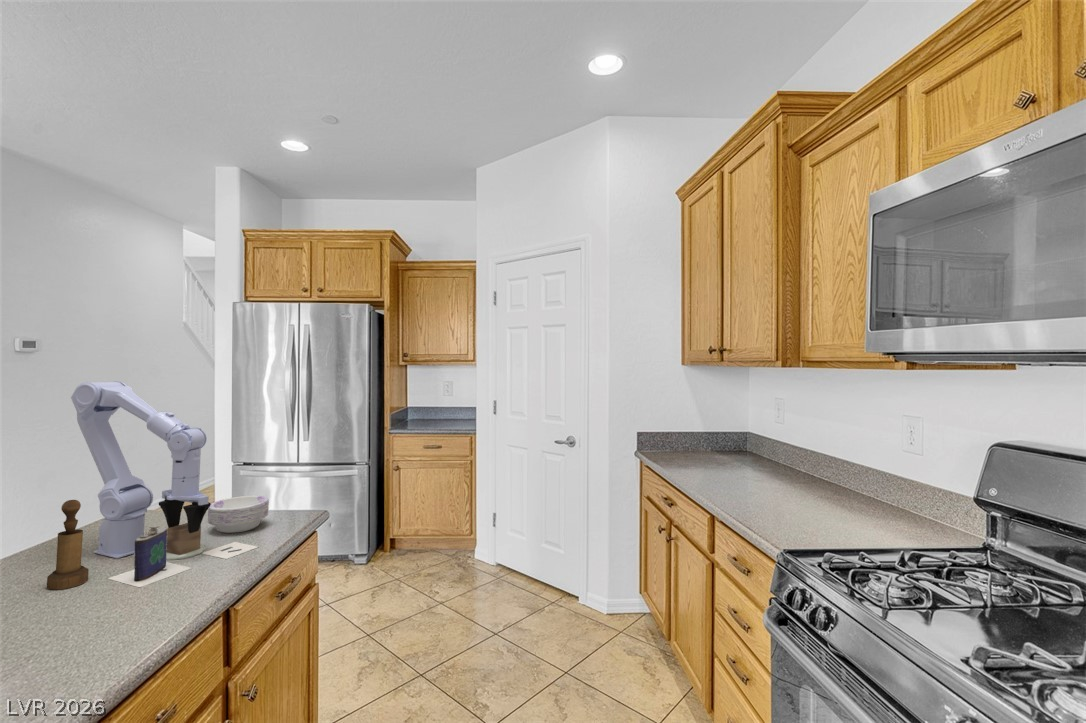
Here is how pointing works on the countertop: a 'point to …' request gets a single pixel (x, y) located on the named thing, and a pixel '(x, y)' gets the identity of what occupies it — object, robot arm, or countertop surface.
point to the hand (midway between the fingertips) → (183, 529)
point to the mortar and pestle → (69, 552)
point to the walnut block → (182, 540)
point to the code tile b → (229, 550)
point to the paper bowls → (238, 513)
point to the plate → (187, 555)
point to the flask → (150, 553)
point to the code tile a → (164, 573)
